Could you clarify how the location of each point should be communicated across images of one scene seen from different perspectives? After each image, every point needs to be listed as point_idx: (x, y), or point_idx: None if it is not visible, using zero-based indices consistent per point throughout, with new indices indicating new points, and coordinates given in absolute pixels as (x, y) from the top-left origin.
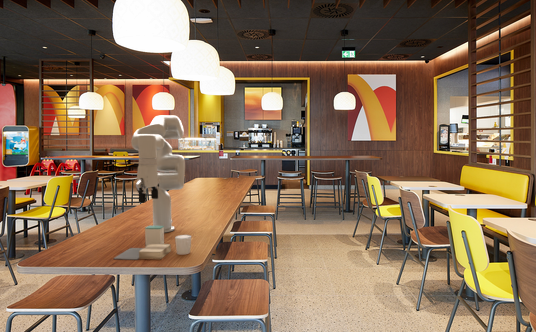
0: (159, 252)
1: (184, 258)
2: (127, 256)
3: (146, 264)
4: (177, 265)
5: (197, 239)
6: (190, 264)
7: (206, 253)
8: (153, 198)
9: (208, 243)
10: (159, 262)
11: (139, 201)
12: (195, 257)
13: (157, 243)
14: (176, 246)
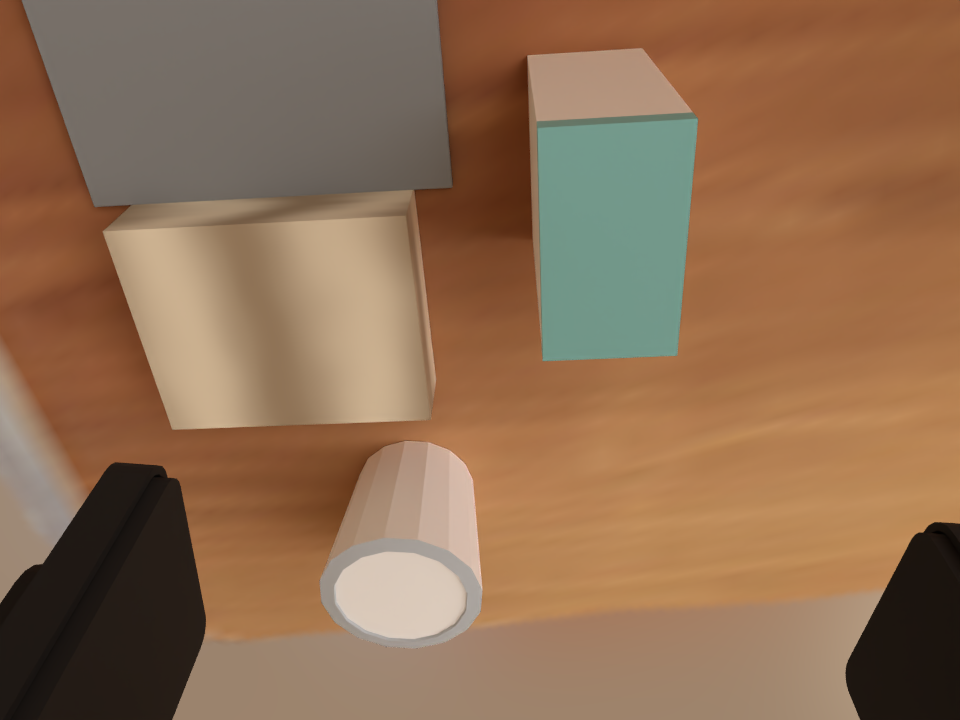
0: (171, 419)
1: (282, 532)
2: (115, 53)
3: (44, 336)
4: None
5: (839, 470)
6: None
7: None
8: (891, 583)
9: (695, 576)
10: (131, 409)
11: (111, 490)
12: None
13: (533, 225)
14: (360, 495)
